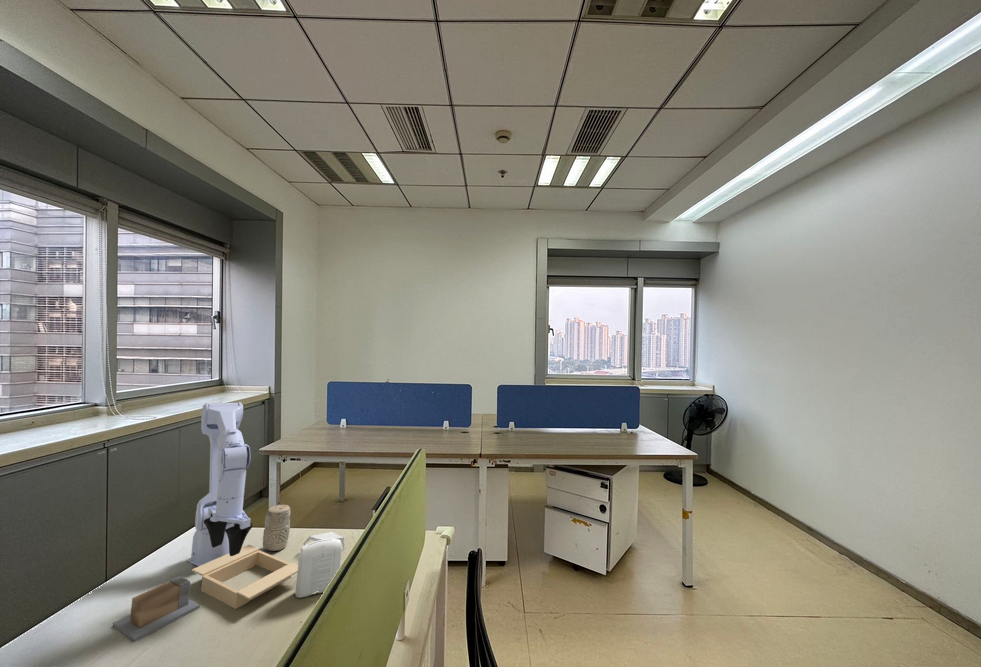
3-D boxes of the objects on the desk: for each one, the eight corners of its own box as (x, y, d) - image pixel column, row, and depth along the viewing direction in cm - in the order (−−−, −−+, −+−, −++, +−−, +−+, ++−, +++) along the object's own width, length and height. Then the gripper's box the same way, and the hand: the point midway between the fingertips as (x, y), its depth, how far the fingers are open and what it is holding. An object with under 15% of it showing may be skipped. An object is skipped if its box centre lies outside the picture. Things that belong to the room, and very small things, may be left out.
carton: (190, 585, 97) (192, 569, 97) (247, 558, 110) (249, 544, 111) (247, 615, 88) (249, 597, 88) (302, 582, 101) (304, 567, 101)
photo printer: (337, 580, 103) (340, 532, 103) (340, 588, 99) (344, 539, 100) (294, 591, 97) (298, 541, 98) (296, 601, 94) (300, 548, 94)
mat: (112, 626, 82) (112, 623, 82) (177, 595, 93) (177, 592, 93) (134, 641, 78) (134, 638, 78) (199, 607, 89) (199, 605, 89)
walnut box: (129, 621, 83) (132, 596, 83) (177, 598, 91) (179, 575, 91) (140, 628, 81) (142, 603, 81) (188, 604, 89) (190, 581, 90)
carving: (293, 544, 120) (296, 504, 120) (274, 556, 112) (277, 514, 113) (276, 540, 121) (280, 501, 122) (256, 552, 114) (260, 510, 115)
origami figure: (345, 543, 122) (346, 527, 122) (344, 557, 114) (345, 540, 114) (303, 547, 118) (305, 530, 119) (299, 561, 111) (300, 544, 111)
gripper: (197, 493, 97) (191, 548, 97) (231, 507, 91) (226, 566, 90) (226, 485, 104) (221, 537, 103) (260, 497, 97) (255, 552, 97)
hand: (225, 549), depth 97 cm, fingers open, 7 cm apart
